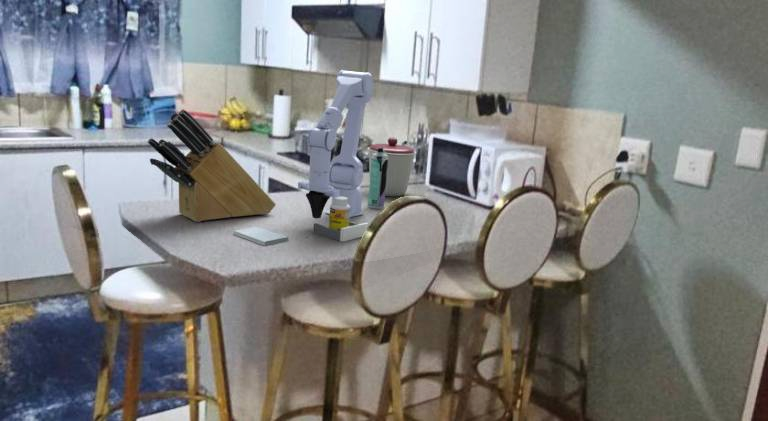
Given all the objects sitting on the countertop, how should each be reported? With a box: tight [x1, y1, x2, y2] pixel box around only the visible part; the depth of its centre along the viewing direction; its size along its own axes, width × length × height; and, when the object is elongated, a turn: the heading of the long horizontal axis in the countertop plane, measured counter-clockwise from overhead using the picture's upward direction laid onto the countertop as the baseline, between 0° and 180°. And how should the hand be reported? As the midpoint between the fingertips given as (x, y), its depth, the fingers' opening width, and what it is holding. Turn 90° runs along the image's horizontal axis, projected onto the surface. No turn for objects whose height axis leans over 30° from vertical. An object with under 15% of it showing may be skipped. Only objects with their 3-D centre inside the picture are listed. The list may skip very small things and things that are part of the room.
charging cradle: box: [312, 220, 370, 243], centre depth 174 cm, size 11×11×4 cm
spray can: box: [367, 148, 388, 210], centre depth 209 cm, size 6×6×20 cm
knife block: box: [147, 108, 277, 223], centre depth 178 cm, size 11×35×31 cm, turn 131°
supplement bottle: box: [328, 196, 351, 231], centre depth 174 cm, size 6×6×10 cm
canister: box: [367, 136, 417, 197], centre depth 231 cm, size 18×18×21 cm
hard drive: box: [233, 226, 290, 246], centre depth 165 cm, size 2×8×12 cm
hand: (316, 217), depth 180 cm, fingers closed
